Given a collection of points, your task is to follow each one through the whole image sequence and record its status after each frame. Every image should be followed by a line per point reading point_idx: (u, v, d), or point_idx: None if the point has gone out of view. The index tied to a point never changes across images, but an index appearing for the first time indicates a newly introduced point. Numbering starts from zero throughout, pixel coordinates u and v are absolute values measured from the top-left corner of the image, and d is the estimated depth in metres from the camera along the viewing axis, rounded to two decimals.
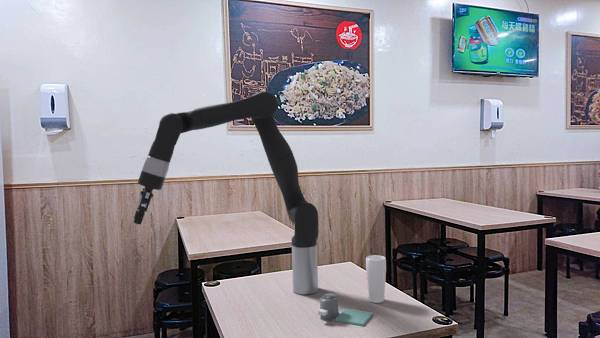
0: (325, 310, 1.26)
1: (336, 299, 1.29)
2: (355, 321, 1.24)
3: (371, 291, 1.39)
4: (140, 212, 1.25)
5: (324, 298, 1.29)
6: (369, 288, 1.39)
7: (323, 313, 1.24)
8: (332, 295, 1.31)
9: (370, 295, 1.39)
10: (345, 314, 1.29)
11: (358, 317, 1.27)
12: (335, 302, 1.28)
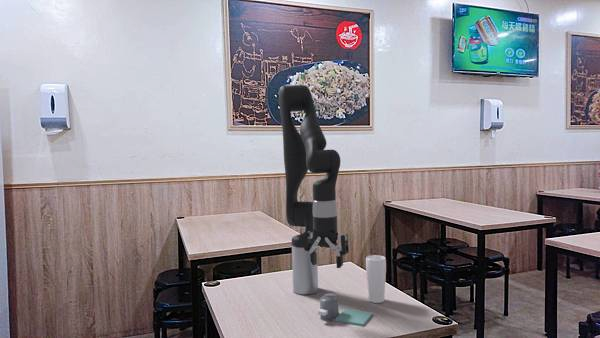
0: (325, 310, 1.26)
1: (336, 299, 1.29)
2: (355, 321, 1.24)
3: (371, 291, 1.39)
4: (342, 256, 1.25)
5: (324, 298, 1.29)
6: (369, 288, 1.39)
7: (323, 313, 1.24)
8: (332, 295, 1.31)
9: (370, 295, 1.39)
10: (345, 314, 1.29)
11: (358, 317, 1.27)
12: (335, 302, 1.28)
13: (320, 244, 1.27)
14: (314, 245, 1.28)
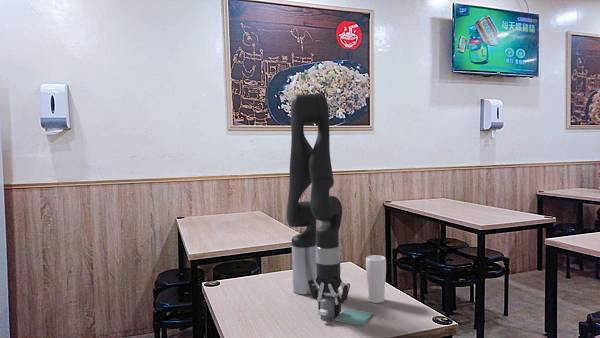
0: (325, 310, 1.26)
1: None
2: (355, 321, 1.24)
3: (371, 291, 1.39)
4: (339, 304, 1.27)
5: (324, 298, 1.29)
6: (369, 288, 1.39)
7: (323, 313, 1.24)
8: None
9: (370, 295, 1.39)
10: (345, 314, 1.29)
11: (358, 317, 1.27)
12: None
13: (325, 289, 1.28)
14: (320, 292, 1.29)
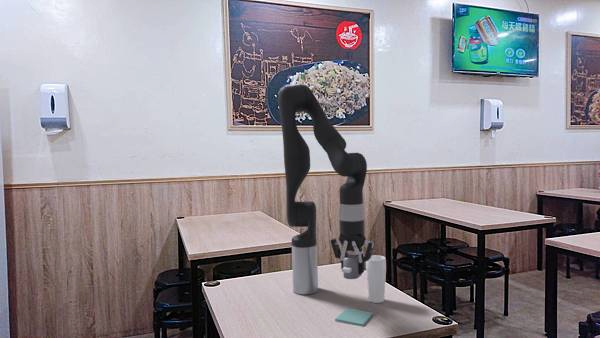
0: (349, 268, 1.23)
1: None
2: (355, 321, 1.24)
3: (371, 291, 1.39)
4: (363, 262, 1.25)
5: (347, 256, 1.26)
6: (369, 288, 1.39)
7: (347, 270, 1.22)
8: (355, 254, 1.29)
9: (370, 295, 1.39)
10: (345, 314, 1.29)
11: (358, 317, 1.27)
12: None
13: (349, 248, 1.26)
14: (343, 251, 1.26)
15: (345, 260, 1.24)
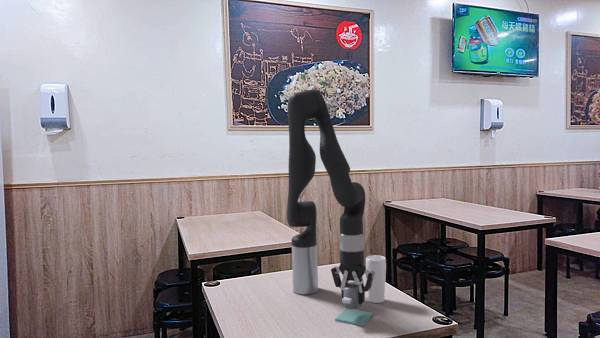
0: (349, 298, 1.23)
1: None
2: (355, 321, 1.24)
3: (371, 291, 1.39)
4: (364, 292, 1.25)
5: (347, 286, 1.26)
6: None
7: (347, 301, 1.22)
8: (355, 283, 1.29)
9: (370, 295, 1.39)
10: (345, 314, 1.29)
11: (358, 317, 1.27)
12: None
13: (349, 277, 1.26)
14: (343, 280, 1.26)
15: (345, 290, 1.24)
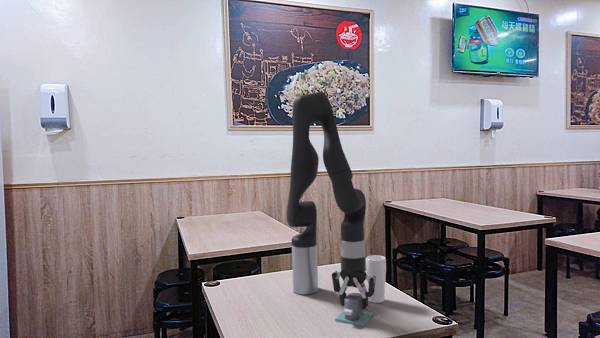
0: (350, 309, 1.24)
1: (361, 299, 1.27)
2: (355, 321, 1.24)
3: None
4: (367, 297, 1.25)
5: (348, 297, 1.27)
6: None
7: (348, 313, 1.22)
8: (356, 294, 1.29)
9: None
10: None
11: None
12: (360, 301, 1.26)
13: (349, 284, 1.27)
14: (343, 286, 1.27)
15: (346, 302, 1.25)
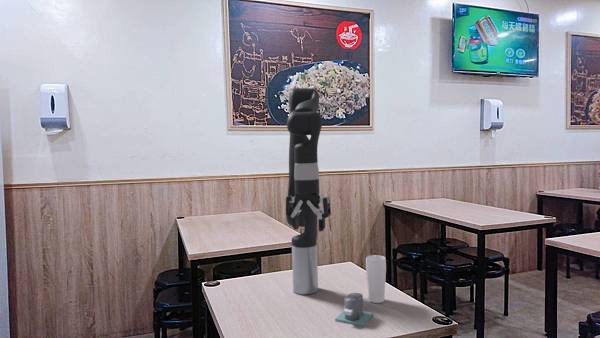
0: (350, 309, 1.24)
1: (361, 299, 1.27)
2: (355, 321, 1.24)
3: (371, 291, 1.39)
4: (324, 219, 1.24)
5: (348, 297, 1.27)
6: (369, 288, 1.39)
7: (348, 313, 1.22)
8: (356, 294, 1.29)
9: (370, 295, 1.39)
10: None
11: None
12: (360, 301, 1.26)
13: (302, 208, 1.26)
14: (296, 209, 1.26)
15: (346, 302, 1.25)
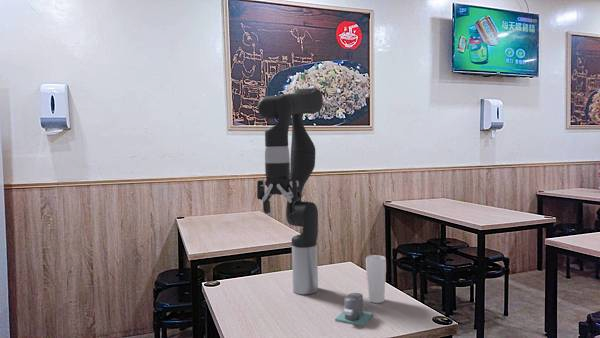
0: (350, 309, 1.24)
1: (361, 299, 1.27)
2: (355, 321, 1.24)
3: (371, 291, 1.39)
4: (293, 202, 1.24)
5: (348, 297, 1.27)
6: (369, 288, 1.39)
7: (348, 313, 1.22)
8: (356, 294, 1.29)
9: (370, 295, 1.39)
10: None
11: None
12: (360, 301, 1.26)
13: (272, 191, 1.26)
14: (266, 193, 1.26)
15: (346, 302, 1.25)
